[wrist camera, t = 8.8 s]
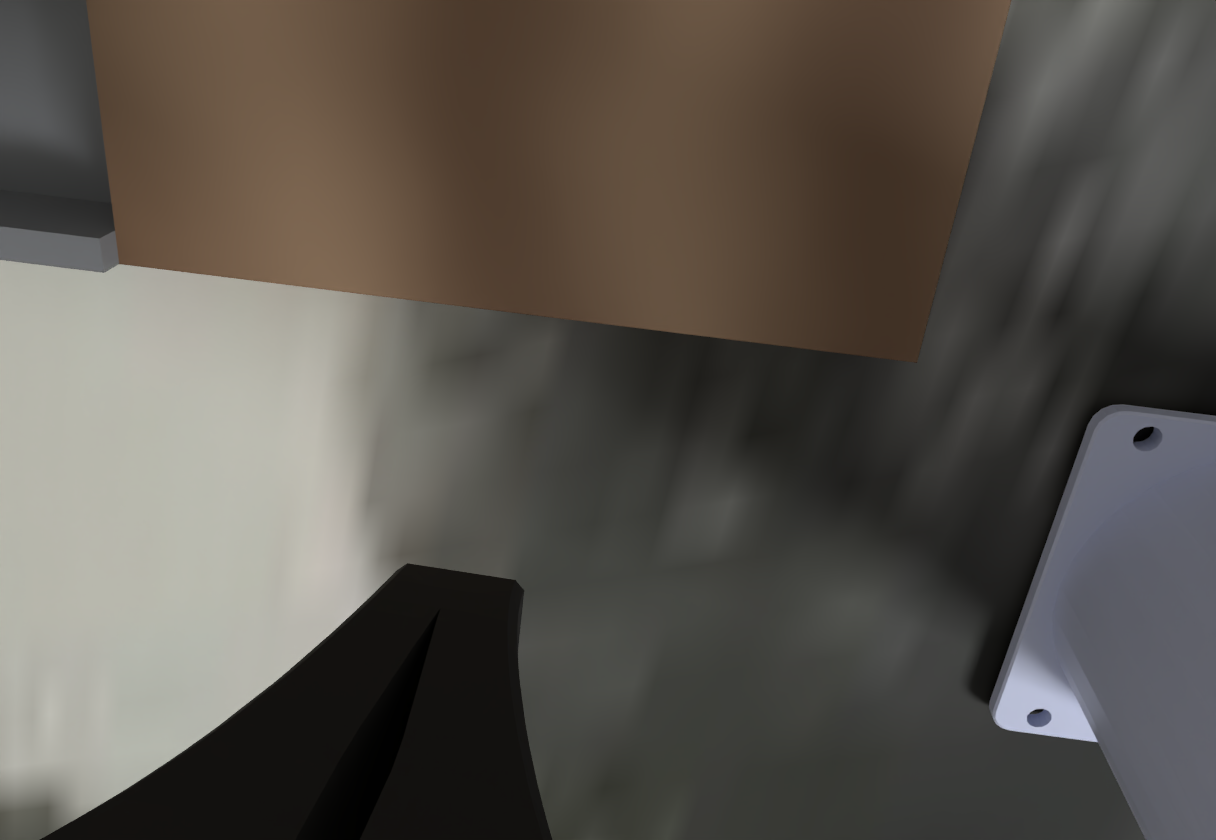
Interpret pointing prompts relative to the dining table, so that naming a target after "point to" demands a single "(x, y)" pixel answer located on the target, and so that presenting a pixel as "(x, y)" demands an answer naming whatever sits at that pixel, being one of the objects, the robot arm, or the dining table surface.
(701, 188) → the walnut board
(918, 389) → the dining table surface
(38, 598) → the dining table surface
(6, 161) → the tray
